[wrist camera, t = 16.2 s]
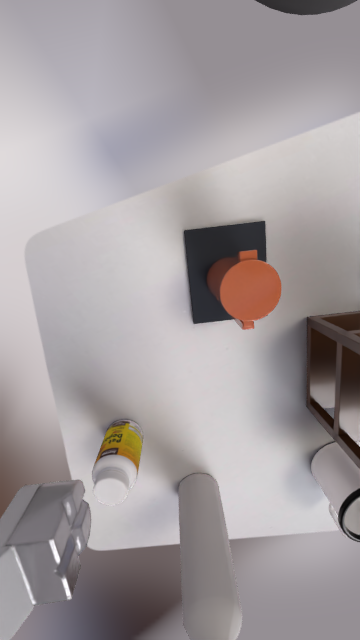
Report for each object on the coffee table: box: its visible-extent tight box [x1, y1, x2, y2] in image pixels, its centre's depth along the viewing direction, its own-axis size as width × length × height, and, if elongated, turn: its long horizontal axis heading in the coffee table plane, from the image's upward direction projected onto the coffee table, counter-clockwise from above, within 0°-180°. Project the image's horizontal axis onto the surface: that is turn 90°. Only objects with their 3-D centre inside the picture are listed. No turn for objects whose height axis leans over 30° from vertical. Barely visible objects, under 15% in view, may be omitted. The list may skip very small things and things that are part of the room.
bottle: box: [178, 473, 242, 640], centre depth 31 cm, size 7×7×28 cm
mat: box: [184, 221, 266, 324], centre depth 35 cm, size 12×10×1 cm
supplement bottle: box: [92, 420, 143, 505], centre depth 36 cm, size 6×6×10 cm
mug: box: [311, 442, 360, 542], centre depth 39 cm, size 12×10×9 cm
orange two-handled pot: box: [207, 250, 281, 330], centre depth 30 cm, size 8×6×10 cm
